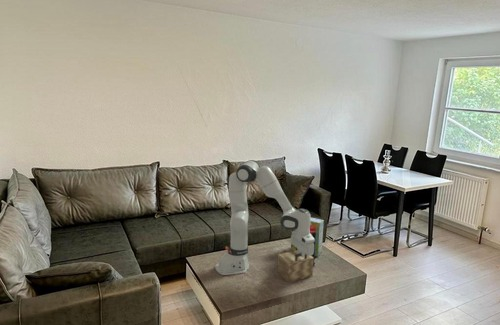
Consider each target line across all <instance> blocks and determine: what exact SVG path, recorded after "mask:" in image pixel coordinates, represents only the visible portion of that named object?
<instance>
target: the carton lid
mask: <svg viewBox="0 0 500 325" xmlns="http://www.w3.org/2000/svg"><path fill="white" fill-rule="evenodd" d="M301 254H302V251H301ZM301 254H298V251H293V250H291V251H289V252H288V251H287V252H283V253H279V254H278V255H279V256H280V257H281V258H283V259H284V260H285V261H286V262H288V263H289V264H292V263H296V262H301V261H305V260H310V259H314V260H315V257H314V258H313V257H312V256H311V255H310V256H308V255H307V254H305V255H304V258H302V257H301Z"/></svg>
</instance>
